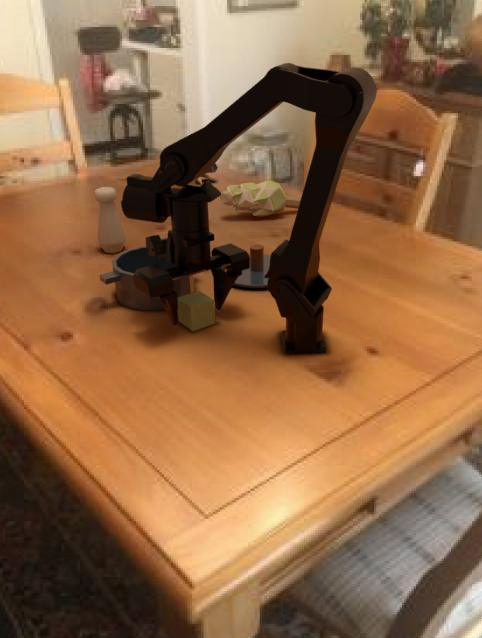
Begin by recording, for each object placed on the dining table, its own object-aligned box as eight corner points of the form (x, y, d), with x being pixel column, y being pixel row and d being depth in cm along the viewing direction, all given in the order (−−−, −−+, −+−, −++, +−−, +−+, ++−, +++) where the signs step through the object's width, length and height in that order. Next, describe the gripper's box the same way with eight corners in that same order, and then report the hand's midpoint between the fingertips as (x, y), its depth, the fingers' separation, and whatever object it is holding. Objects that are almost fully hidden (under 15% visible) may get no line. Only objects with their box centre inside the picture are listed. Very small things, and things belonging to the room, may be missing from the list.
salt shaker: (93, 251, 131) (83, 190, 124) (110, 242, 135) (102, 182, 128) (115, 256, 129) (107, 194, 122) (132, 247, 133) (124, 186, 126)
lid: (312, 277, 118) (313, 249, 115) (248, 298, 111) (247, 269, 108) (264, 253, 129) (264, 227, 126) (203, 271, 121) (201, 244, 118)
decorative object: (311, 199, 156) (214, 188, 149) (327, 178, 147) (225, 165, 140) (314, 231, 154) (216, 221, 146) (330, 212, 145) (227, 200, 137)
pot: (220, 291, 114) (219, 258, 110) (124, 322, 104) (119, 287, 101) (181, 267, 123) (179, 236, 120) (90, 293, 114) (84, 260, 110)
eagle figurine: (192, 185, 167) (221, 174, 169) (181, 160, 166) (211, 149, 168) (187, 193, 174) (215, 183, 176) (176, 169, 173) (205, 159, 176)
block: (215, 323, 103) (213, 299, 101) (192, 331, 101) (190, 307, 99) (201, 313, 106) (199, 290, 104) (178, 321, 104) (176, 297, 102)
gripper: (212, 201, 105) (216, 285, 113) (111, 225, 96) (124, 315, 104) (251, 218, 97) (252, 307, 106) (145, 246, 88) (156, 341, 97)
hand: (196, 316), depth 103 cm, fingers open, 8 cm apart
